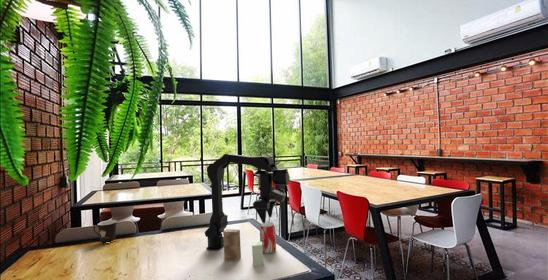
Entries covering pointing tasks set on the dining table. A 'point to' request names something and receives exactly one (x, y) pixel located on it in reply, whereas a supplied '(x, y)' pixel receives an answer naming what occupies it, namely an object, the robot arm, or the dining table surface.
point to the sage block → (257, 253)
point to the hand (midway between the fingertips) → (267, 219)
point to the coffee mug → (106, 231)
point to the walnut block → (232, 245)
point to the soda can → (268, 237)
